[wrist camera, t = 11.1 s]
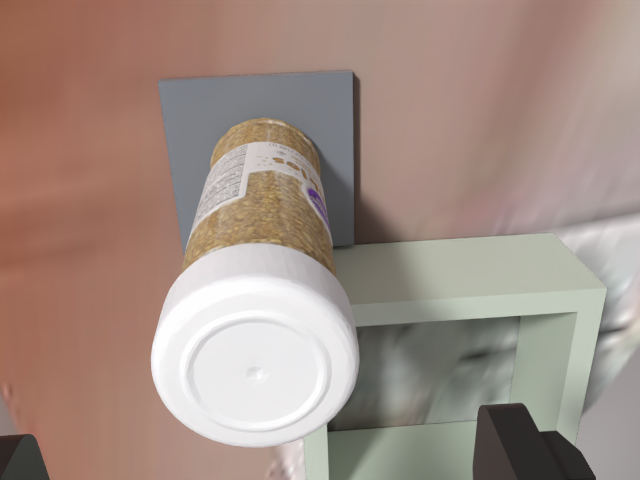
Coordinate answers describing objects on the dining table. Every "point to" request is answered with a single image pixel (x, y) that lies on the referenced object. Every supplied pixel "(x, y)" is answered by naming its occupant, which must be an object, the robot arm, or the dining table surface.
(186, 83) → the coaster
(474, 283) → the crate
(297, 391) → the sprinkles bottle
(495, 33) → the dining table surface
